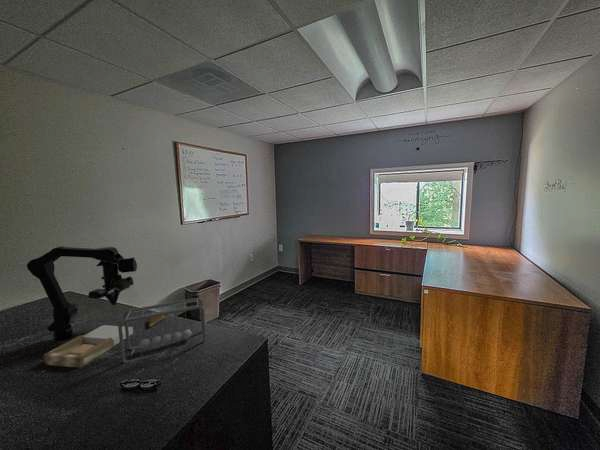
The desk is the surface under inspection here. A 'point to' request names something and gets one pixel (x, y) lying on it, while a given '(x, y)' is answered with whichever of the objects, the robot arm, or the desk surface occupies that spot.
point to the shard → (157, 319)
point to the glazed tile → (81, 349)
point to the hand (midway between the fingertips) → (114, 304)
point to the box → (62, 357)
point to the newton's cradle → (157, 339)
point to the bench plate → (105, 334)
